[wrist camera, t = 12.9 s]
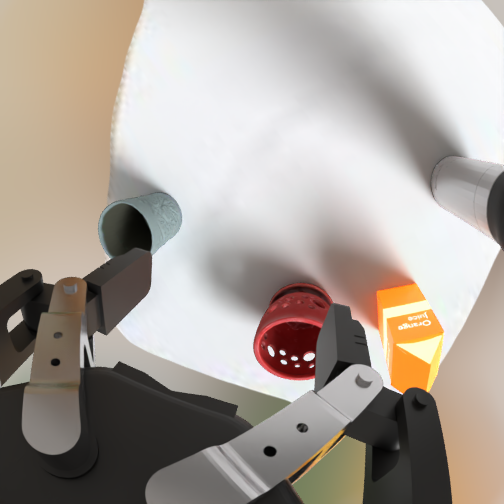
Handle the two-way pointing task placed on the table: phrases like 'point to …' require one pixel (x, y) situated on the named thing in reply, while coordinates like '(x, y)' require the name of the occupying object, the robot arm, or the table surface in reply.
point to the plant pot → (292, 330)
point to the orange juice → (409, 337)
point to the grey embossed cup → (139, 224)
